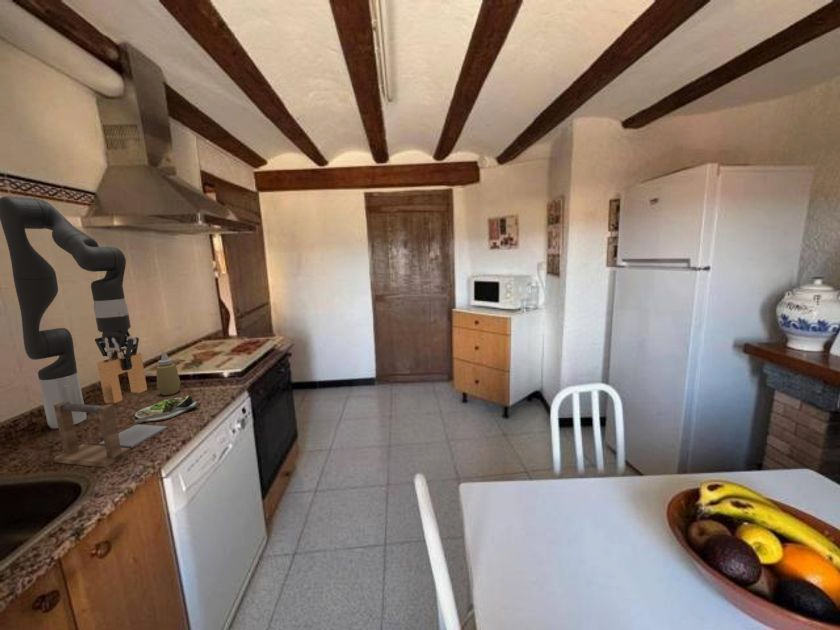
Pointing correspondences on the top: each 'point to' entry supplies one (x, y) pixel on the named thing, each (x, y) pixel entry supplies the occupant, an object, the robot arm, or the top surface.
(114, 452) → the stand
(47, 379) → the robot arm
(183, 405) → the salad plate
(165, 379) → the squeeze bottle
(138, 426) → the mat
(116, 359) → the link
